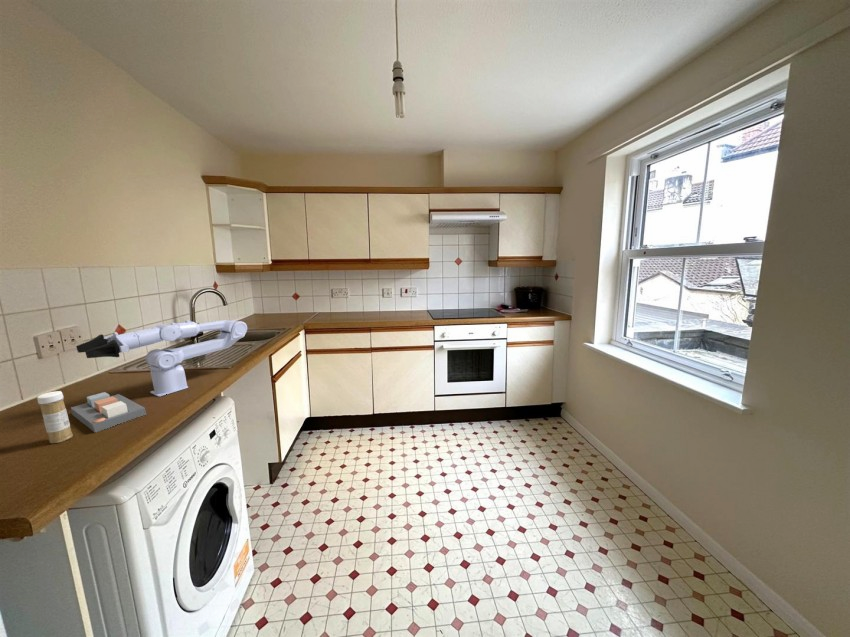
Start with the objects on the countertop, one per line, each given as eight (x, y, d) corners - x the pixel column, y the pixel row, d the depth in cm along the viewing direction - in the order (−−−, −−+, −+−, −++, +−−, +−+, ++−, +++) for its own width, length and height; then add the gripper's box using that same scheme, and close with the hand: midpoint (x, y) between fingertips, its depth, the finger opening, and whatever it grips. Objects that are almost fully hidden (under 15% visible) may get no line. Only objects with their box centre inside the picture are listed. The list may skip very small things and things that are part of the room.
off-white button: (123, 411, 105) (120, 400, 104) (128, 414, 102) (126, 403, 102) (104, 417, 101) (101, 406, 100) (109, 420, 99) (106, 409, 98)
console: (120, 400, 117) (118, 393, 117) (146, 415, 105) (144, 407, 104) (72, 414, 107) (70, 406, 107) (95, 432, 95) (92, 423, 94)
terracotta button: (114, 406, 109) (112, 396, 108) (119, 409, 106) (117, 399, 106) (96, 411, 105) (93, 401, 104) (100, 414, 103) (98, 404, 102)
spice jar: (60, 436, 94) (48, 391, 91) (78, 434, 94) (66, 389, 92) (44, 445, 89) (31, 398, 87) (62, 443, 90) (50, 396, 87)
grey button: (107, 401, 113) (104, 392, 112) (111, 404, 110) (109, 394, 110) (88, 406, 109) (86, 397, 108) (93, 409, 107) (90, 399, 106)
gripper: (123, 324, 117) (70, 335, 106) (142, 332, 110) (87, 345, 99) (128, 343, 119) (76, 355, 108) (146, 352, 112) (93, 366, 101)
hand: (81, 352), depth 104 cm, fingers open, 7 cm apart
